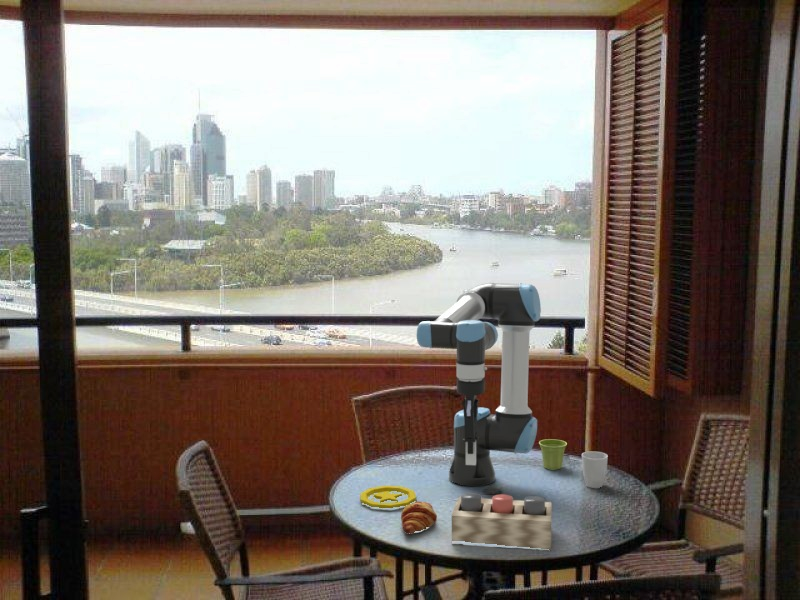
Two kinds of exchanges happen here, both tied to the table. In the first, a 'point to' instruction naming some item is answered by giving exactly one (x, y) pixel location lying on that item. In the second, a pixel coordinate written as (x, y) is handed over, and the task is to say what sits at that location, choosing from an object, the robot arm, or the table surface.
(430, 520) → the croissant
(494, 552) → the table surface
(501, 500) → the middle button
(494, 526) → the control box
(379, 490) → the decorative disc
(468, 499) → the left button
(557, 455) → the plant pot
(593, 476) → the cup
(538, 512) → the right button
